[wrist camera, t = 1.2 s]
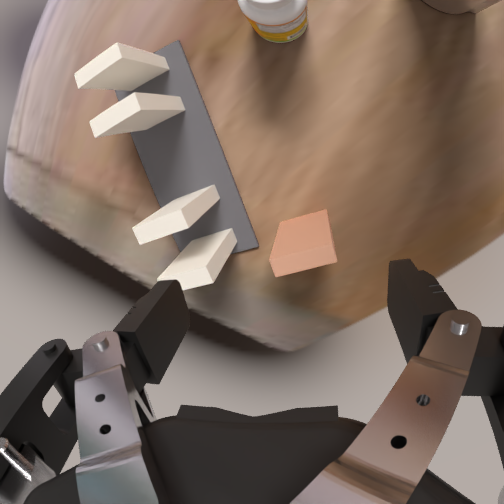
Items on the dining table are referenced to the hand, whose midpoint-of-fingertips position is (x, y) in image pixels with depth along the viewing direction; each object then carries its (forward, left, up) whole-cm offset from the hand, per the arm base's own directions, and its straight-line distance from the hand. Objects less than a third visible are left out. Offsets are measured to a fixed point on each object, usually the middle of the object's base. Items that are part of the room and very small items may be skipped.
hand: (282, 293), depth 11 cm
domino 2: (+14, -7, -20) cm, 26 cm away
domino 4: (+9, +7, -20) cm, 23 cm away
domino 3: (+11, +2, -20) cm, 23 cm away
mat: (+13, -2, -21) cm, 24 cm away
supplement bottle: (+3, -17, -21) cm, 27 cm away
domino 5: (-1, +4, -21) cm, 21 cm away
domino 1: (+16, -11, -20) cm, 28 cm away
